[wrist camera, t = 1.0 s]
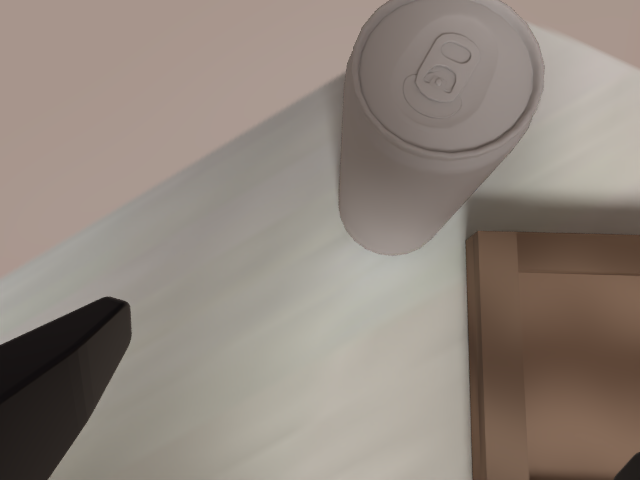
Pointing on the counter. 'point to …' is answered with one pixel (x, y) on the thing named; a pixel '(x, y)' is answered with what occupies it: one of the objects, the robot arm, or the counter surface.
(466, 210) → the counter surface
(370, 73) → the beverage can
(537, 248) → the walnut tray
